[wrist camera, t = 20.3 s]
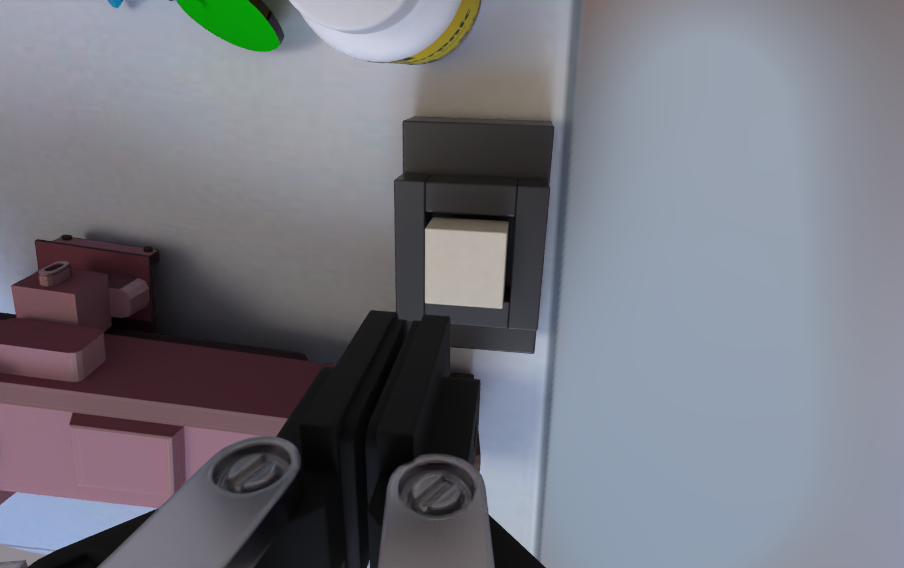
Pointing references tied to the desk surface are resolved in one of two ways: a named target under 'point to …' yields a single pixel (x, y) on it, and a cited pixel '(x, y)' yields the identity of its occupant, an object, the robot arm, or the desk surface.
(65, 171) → the desk surface
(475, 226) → the key back
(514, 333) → the dark gray block frame
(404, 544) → the robot arm
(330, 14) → the supplement bottle
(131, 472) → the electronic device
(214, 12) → the stick construction toy
